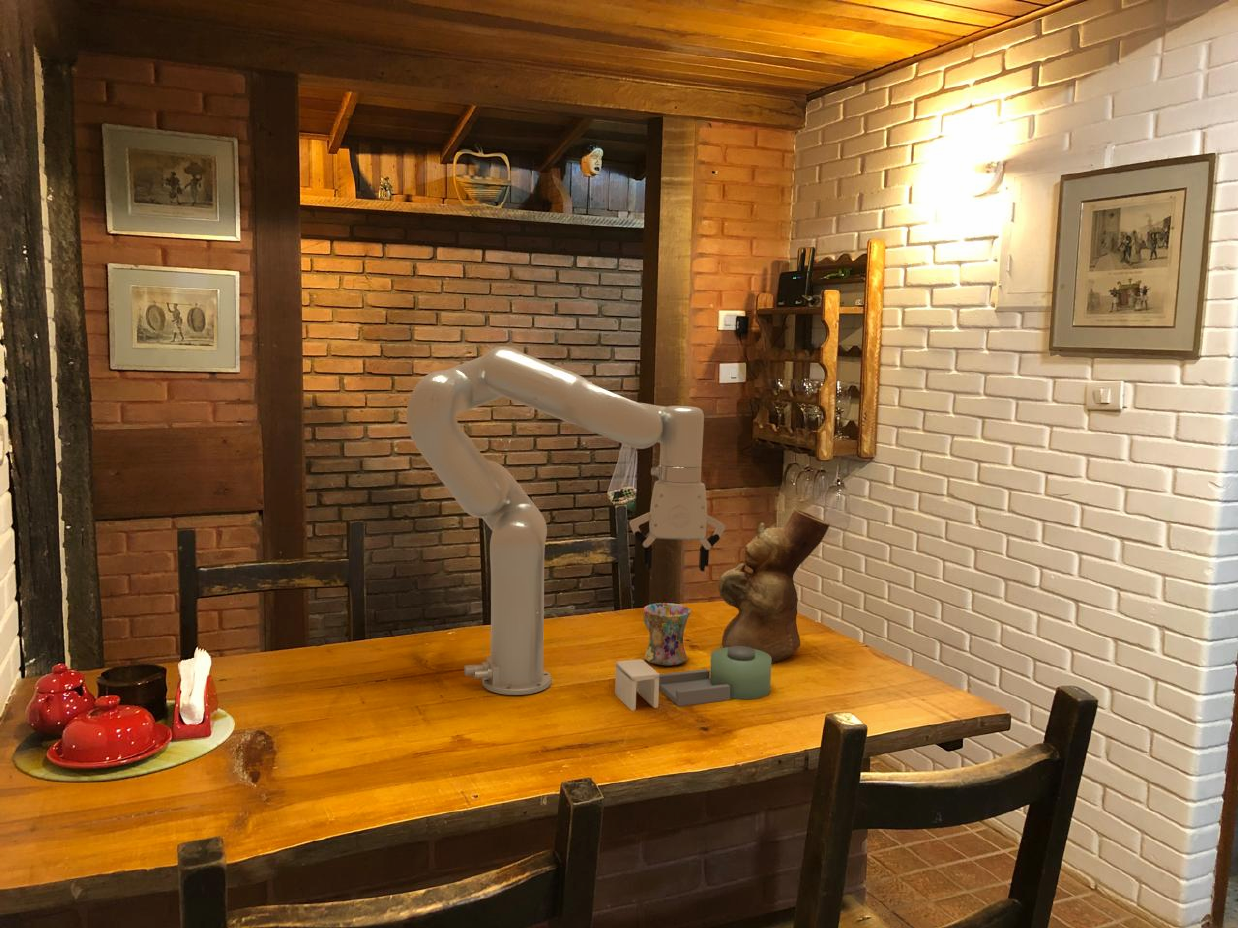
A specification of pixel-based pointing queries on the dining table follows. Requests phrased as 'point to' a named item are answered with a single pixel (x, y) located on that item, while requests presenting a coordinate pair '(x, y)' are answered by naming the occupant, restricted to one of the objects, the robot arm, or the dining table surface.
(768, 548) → the ceramic vessel
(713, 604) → the dining table surface
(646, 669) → the arch block
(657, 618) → the floral vase
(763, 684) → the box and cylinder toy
